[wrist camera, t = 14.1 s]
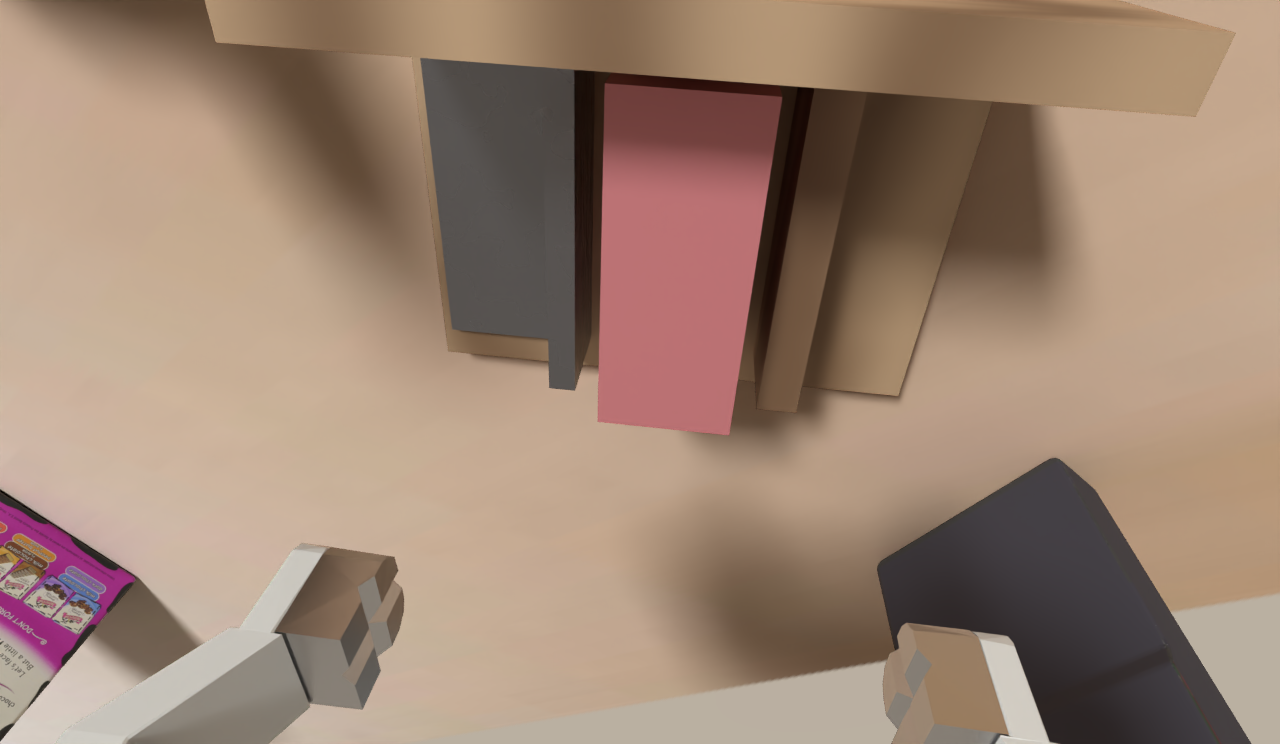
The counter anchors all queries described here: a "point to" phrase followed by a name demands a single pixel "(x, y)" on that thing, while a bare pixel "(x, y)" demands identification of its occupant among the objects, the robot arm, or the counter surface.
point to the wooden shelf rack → (799, 130)
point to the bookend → (516, 201)
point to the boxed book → (679, 244)
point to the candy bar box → (45, 603)
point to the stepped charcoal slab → (1063, 613)
